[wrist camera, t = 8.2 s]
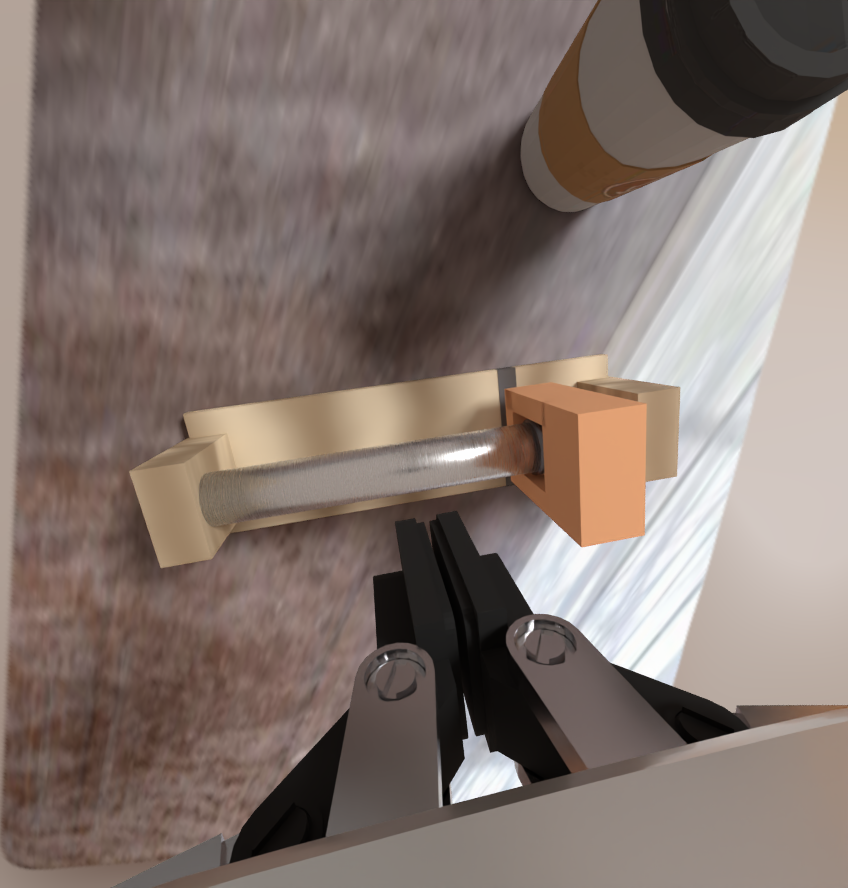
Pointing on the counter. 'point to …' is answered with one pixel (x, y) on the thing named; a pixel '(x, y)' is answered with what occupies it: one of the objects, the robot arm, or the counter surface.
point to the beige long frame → (363, 440)
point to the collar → (585, 460)
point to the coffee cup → (676, 89)
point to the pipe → (370, 473)
